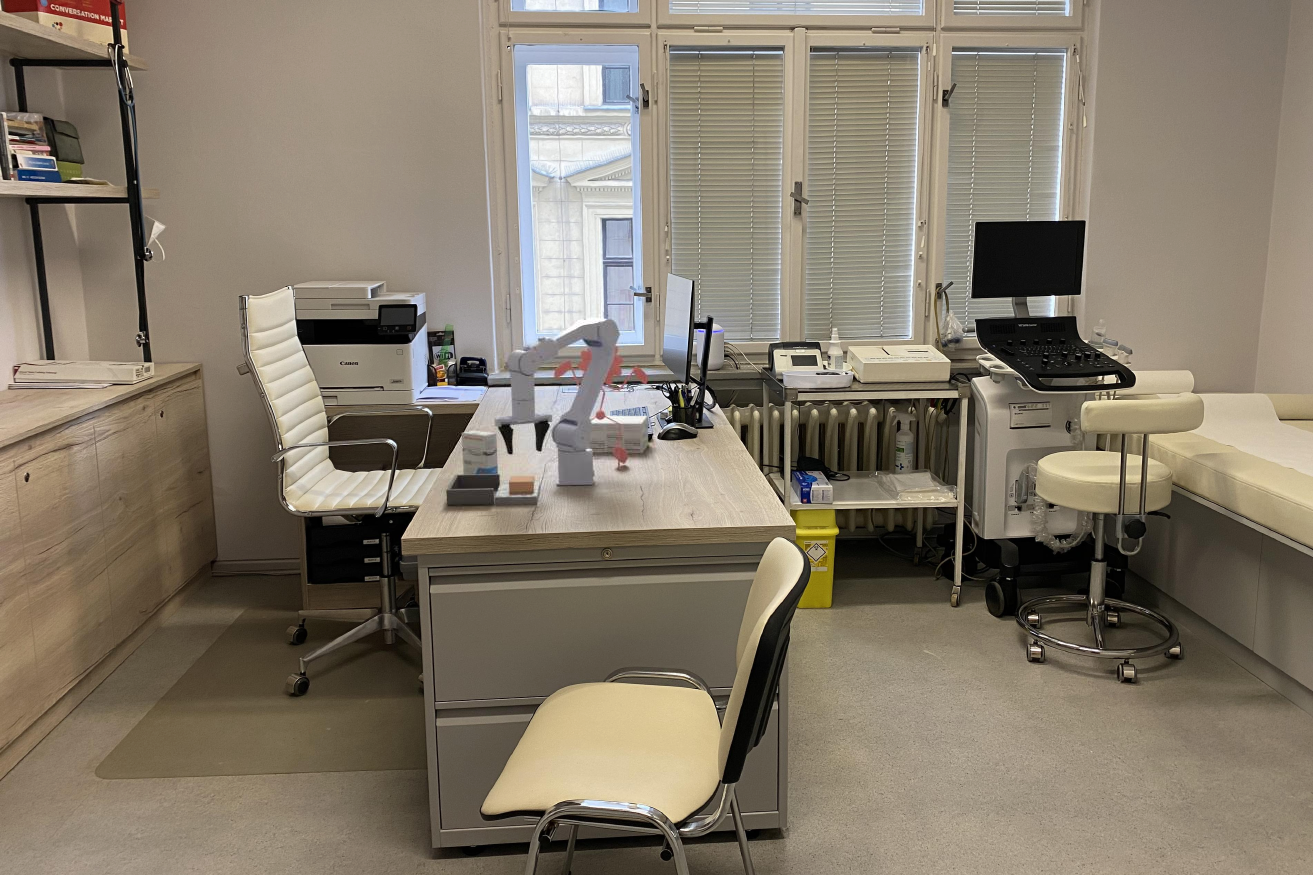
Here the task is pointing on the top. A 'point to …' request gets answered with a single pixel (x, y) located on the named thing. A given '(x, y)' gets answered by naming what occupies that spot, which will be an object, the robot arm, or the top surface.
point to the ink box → (479, 452)
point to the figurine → (614, 370)
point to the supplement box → (630, 436)
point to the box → (473, 490)
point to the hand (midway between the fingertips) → (524, 452)
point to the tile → (521, 483)
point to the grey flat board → (516, 495)
